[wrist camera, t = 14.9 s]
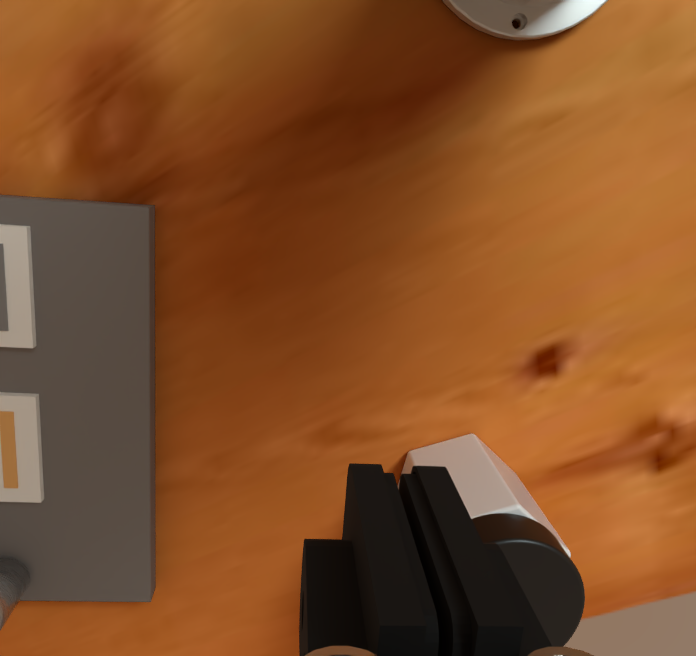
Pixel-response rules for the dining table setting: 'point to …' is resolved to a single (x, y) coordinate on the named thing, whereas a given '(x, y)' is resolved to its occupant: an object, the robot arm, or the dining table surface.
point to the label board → (78, 397)
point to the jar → (512, 529)
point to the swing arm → (11, 585)
